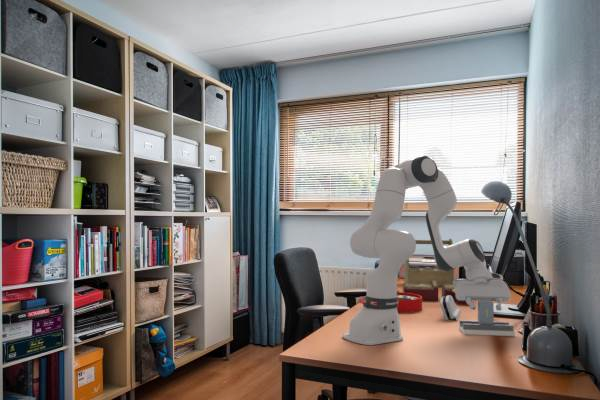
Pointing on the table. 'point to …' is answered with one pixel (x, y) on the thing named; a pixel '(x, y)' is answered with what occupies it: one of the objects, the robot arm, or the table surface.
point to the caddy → (428, 272)
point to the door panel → (485, 312)
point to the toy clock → (409, 302)
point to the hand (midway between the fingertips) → (486, 309)
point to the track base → (486, 328)
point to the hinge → (449, 308)
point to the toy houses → (432, 291)
